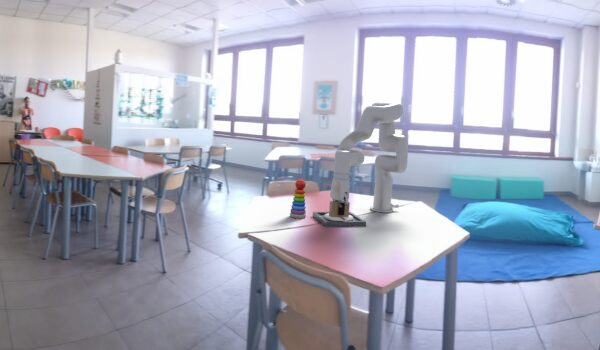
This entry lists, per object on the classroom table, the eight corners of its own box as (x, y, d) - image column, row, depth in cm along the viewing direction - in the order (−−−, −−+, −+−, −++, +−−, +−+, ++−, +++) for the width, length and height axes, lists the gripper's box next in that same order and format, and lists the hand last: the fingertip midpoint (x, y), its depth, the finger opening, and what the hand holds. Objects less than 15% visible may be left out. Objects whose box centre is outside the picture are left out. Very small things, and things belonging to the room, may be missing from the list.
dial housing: (349, 215, 203) (350, 211, 203) (366, 226, 184) (366, 221, 184) (312, 216, 198) (312, 211, 197) (325, 226, 179) (325, 221, 178)
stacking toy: (294, 219, 189) (296, 180, 187) (287, 215, 196) (289, 178, 194) (308, 218, 193) (310, 180, 190) (301, 214, 200) (303, 177, 197)
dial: (320, 214, 195) (321, 199, 194) (346, 214, 199) (347, 199, 198) (330, 222, 182) (331, 205, 181) (358, 221, 186) (359, 204, 185)
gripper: (325, 174, 194) (323, 210, 196) (344, 179, 179) (341, 218, 181) (338, 174, 197) (336, 209, 199) (357, 179, 182) (354, 217, 185)
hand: (338, 213), depth 190 cm, fingers closed on dial, 3 cm apart
